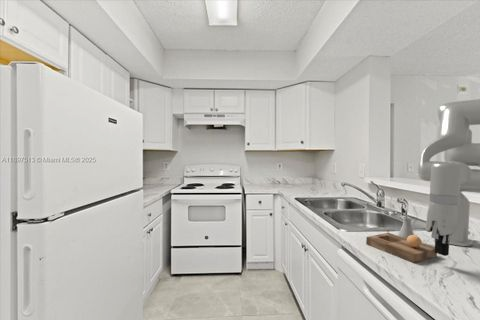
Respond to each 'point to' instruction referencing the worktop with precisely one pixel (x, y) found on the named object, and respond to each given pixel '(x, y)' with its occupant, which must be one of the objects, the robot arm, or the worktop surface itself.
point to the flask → (406, 228)
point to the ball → (414, 241)
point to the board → (401, 247)
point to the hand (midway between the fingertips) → (441, 253)
